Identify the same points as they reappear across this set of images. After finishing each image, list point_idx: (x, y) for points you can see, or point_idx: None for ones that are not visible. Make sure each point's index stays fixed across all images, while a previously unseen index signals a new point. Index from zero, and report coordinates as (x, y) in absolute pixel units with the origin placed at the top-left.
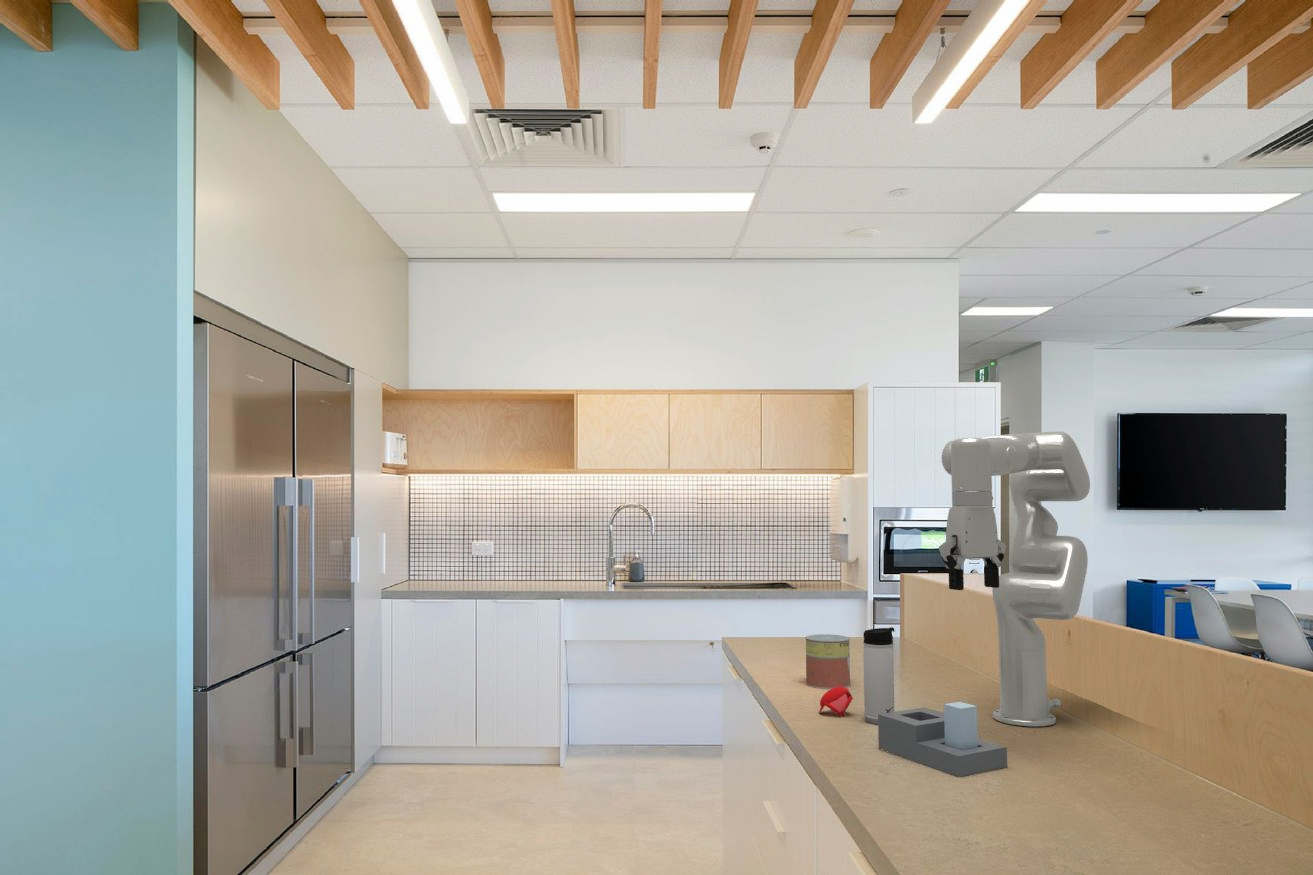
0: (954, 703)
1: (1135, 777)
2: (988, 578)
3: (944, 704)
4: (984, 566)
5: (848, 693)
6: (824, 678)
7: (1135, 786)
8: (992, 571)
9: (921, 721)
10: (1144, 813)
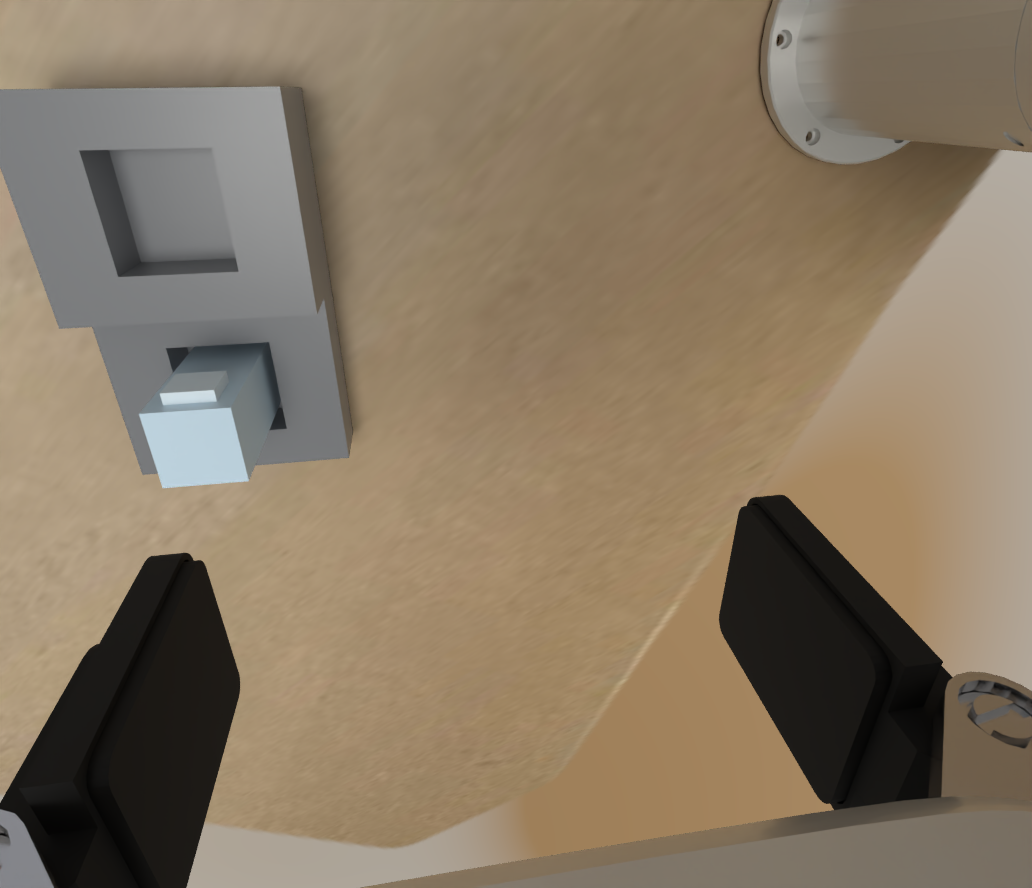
0: (189, 420)
1: (560, 578)
2: (773, 612)
3: (140, 415)
4: (912, 665)
5: None
6: None
7: (504, 613)
8: (809, 733)
9: (119, 286)
10: (380, 704)
